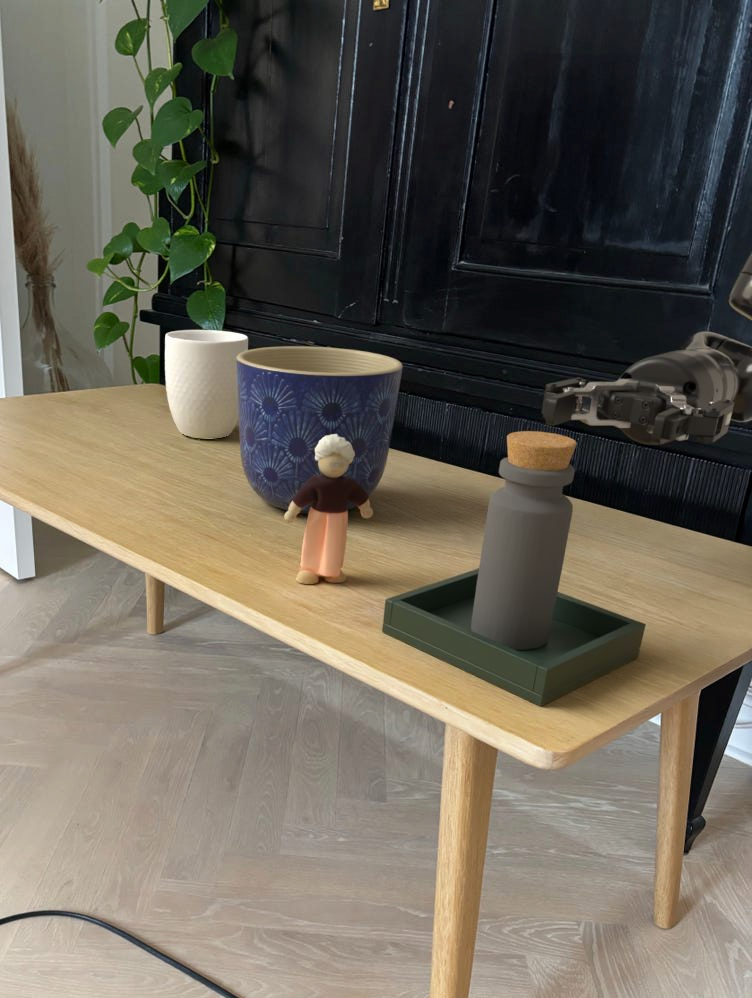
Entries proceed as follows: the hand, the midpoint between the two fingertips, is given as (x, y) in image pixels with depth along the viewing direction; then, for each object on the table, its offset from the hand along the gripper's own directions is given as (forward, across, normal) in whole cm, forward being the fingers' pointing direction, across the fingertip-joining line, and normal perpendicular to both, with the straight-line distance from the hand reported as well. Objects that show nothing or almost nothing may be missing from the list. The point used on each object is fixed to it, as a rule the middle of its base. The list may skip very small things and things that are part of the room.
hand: (602, 420), depth 73 cm
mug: (-22, -62, +15) cm, 68 cm away
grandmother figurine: (+10, -18, +16) cm, 26 cm away
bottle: (+11, 0, +15) cm, 18 cm away
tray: (+11, 0, +16) cm, 19 cm away
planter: (-7, -32, +16) cm, 37 cm away
